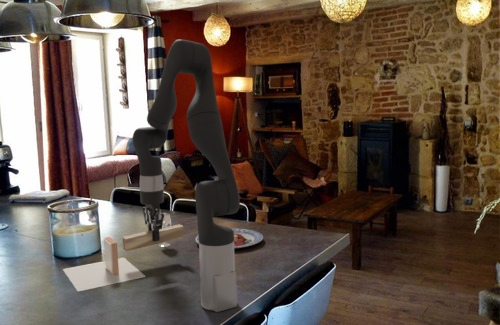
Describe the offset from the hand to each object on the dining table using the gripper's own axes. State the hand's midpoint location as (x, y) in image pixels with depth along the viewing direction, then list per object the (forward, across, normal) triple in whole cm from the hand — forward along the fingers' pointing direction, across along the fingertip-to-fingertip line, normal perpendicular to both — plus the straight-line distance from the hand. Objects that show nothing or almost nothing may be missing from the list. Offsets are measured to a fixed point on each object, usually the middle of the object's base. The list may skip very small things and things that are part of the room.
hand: (154, 239), depth 157 cm
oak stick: (+1, 0, 0) cm, 1 cm away
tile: (+8, 0, +14) cm, 16 cm away
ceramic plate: (+9, +8, -33) cm, 35 cm away
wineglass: (+9, +19, -11) cm, 23 cm away
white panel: (+9, 0, +17) cm, 19 cm away
